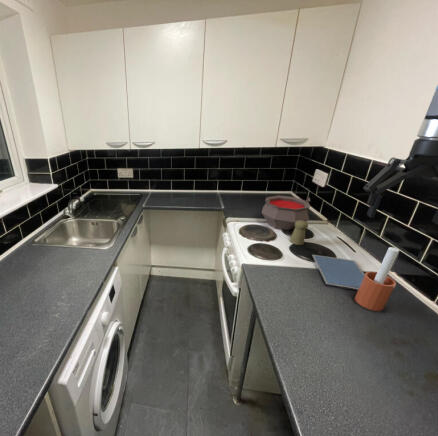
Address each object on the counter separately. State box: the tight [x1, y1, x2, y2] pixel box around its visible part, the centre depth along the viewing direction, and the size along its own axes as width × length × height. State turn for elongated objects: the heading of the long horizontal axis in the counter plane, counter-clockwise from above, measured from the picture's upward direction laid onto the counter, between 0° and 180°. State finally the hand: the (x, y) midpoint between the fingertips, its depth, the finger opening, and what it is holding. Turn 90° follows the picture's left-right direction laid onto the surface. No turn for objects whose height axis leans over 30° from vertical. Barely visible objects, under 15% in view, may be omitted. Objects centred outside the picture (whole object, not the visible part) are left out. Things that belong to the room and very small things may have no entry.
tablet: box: [311, 254, 365, 292], centre depth 89 cm, size 15×20×1 cm
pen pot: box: [354, 271, 397, 312], centre depth 73 cm, size 7×7×10 cm
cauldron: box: [261, 194, 311, 231], centre depth 126 cm, size 24×24×16 cm
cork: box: [289, 220, 309, 246], centre depth 110 cm, size 6×6×11 cm
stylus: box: [374, 246, 400, 284], centre depth 71 cm, size 2×2×20 cm
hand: (401, 219), depth 63 cm, fingers open, 13 cm apart
